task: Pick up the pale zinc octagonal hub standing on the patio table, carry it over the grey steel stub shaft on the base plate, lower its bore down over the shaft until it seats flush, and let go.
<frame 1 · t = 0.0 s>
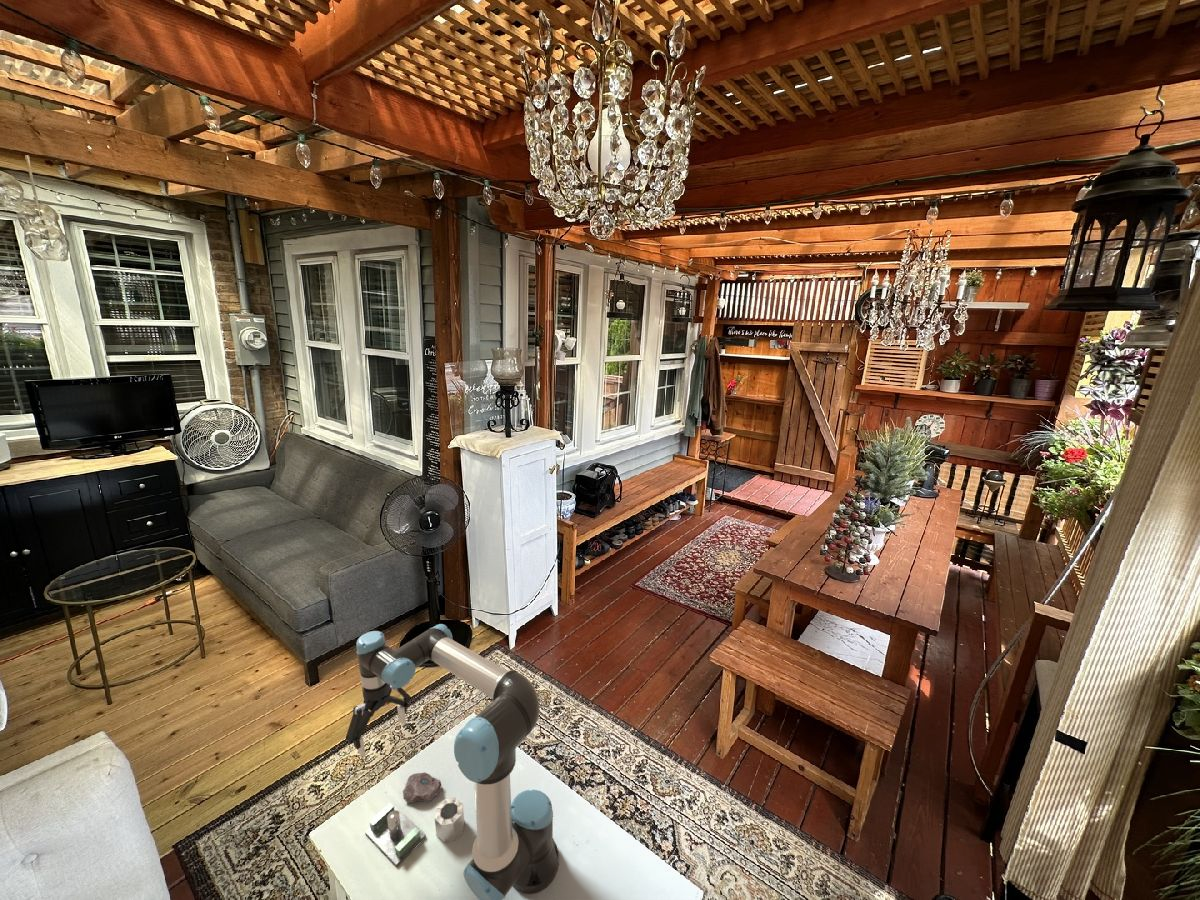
hand: (382, 737, 145), 28 cm above the table, fingers open, 13 cm apart
hub: (450, 827, 147), on the table
rock: (421, 793, 158), on the table
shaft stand: (395, 835, 144), on the table
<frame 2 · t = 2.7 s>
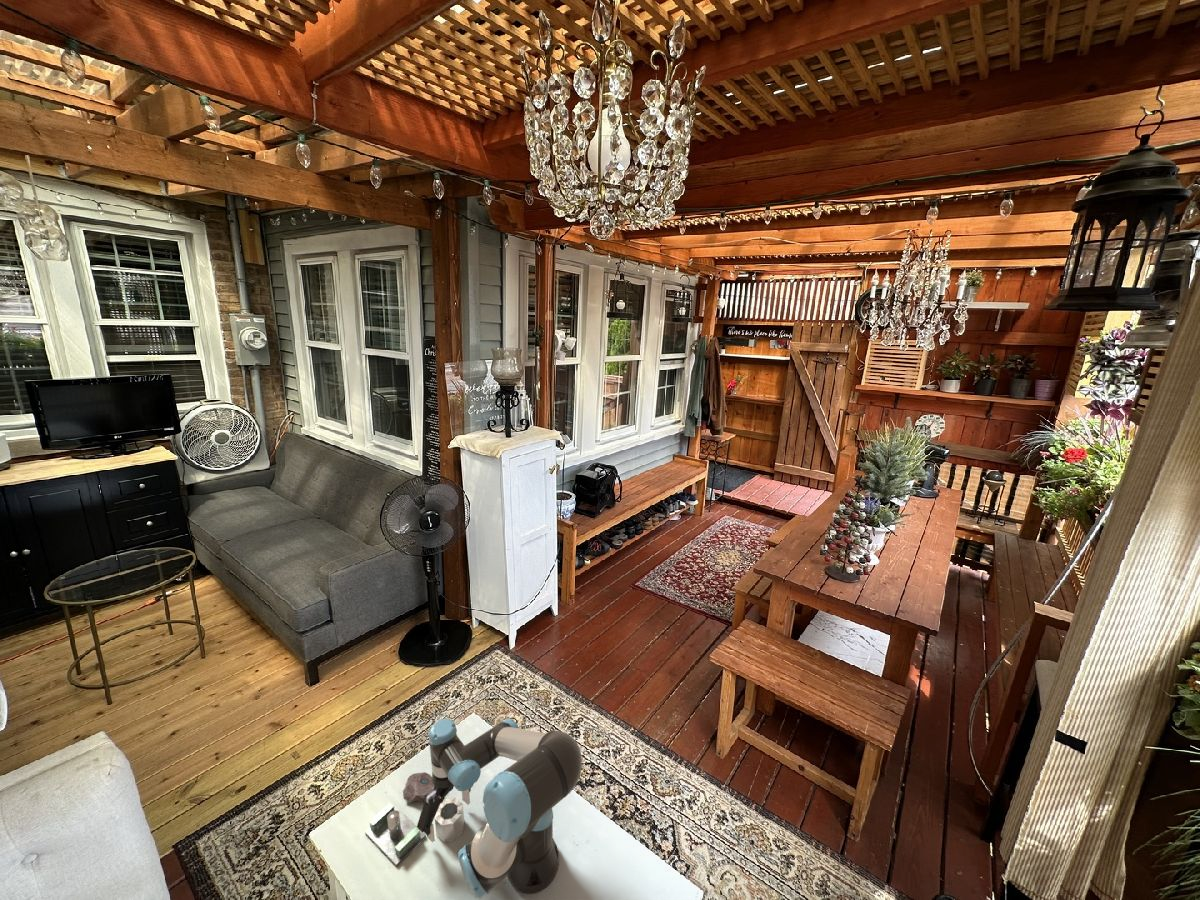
hand: (449, 819, 146), 3 cm above the table, fingers open, 13 cm apart
nothing on the table moved.
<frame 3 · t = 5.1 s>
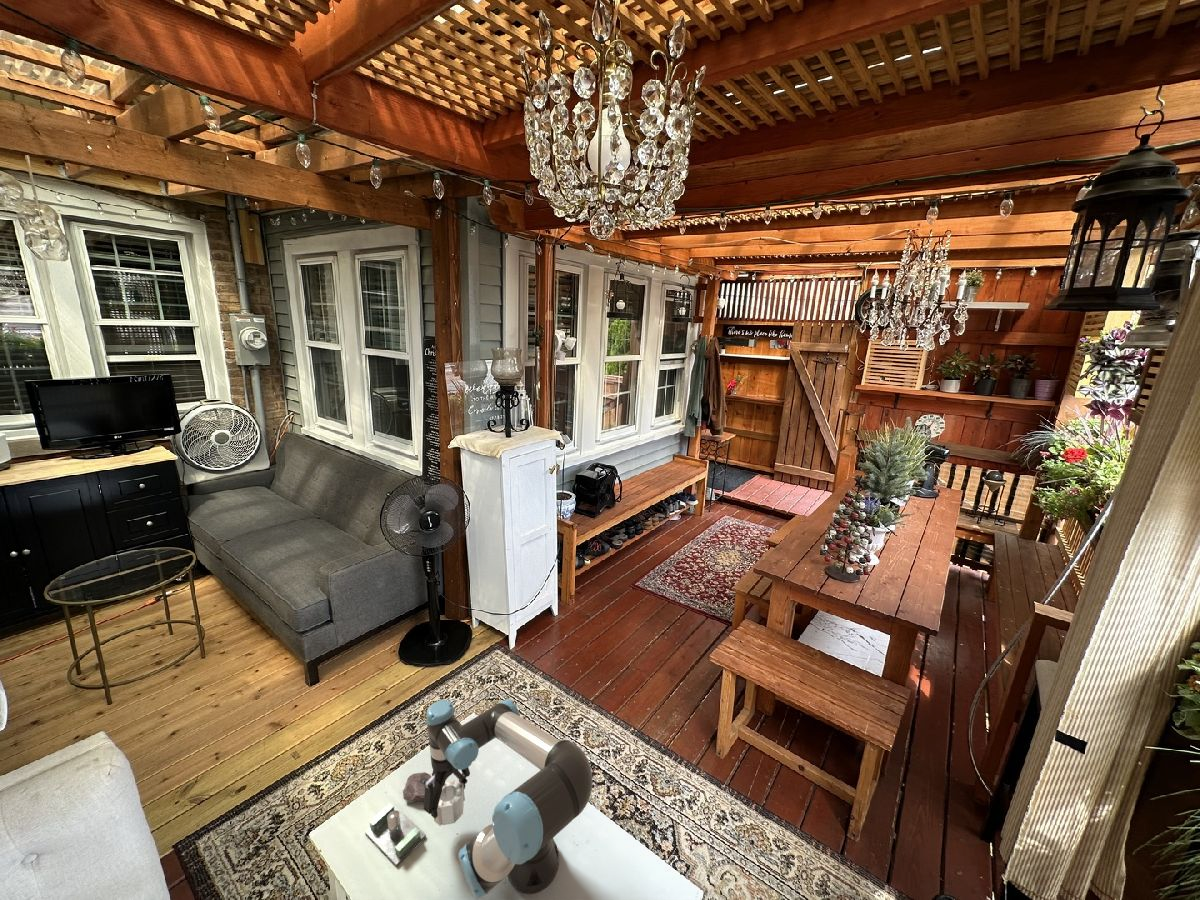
hand: (449, 810, 144), 8 cm above the table, fingers closed on hub, 8 cm apart
hub: (449, 811, 144), point 8 cm above the table, touching gripper
everything else where it was.
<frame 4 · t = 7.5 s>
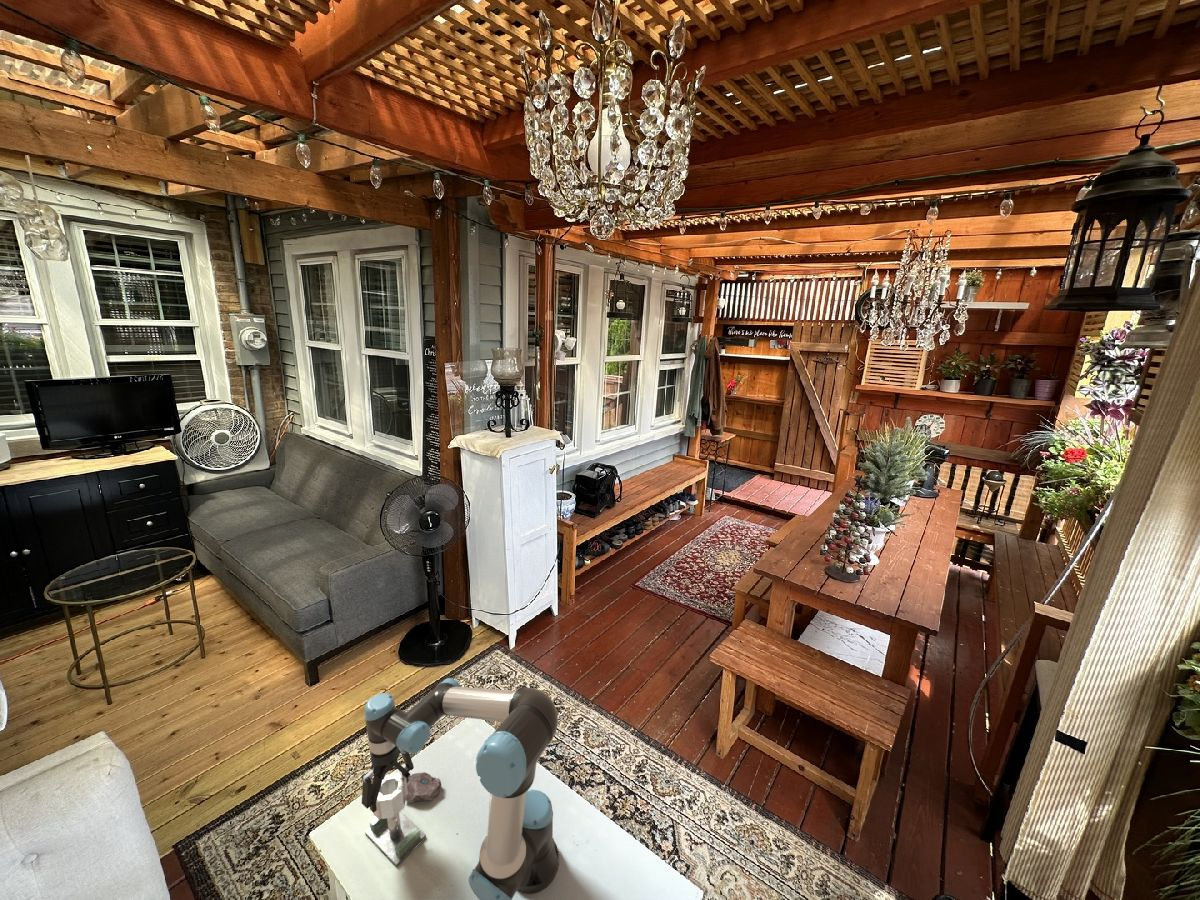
hand: (391, 804, 141), 13 cm above the table, fingers closed on hub, 8 cm apart
hub: (391, 804, 141), point 12 cm above the table, touching gripper
everything else where it was.
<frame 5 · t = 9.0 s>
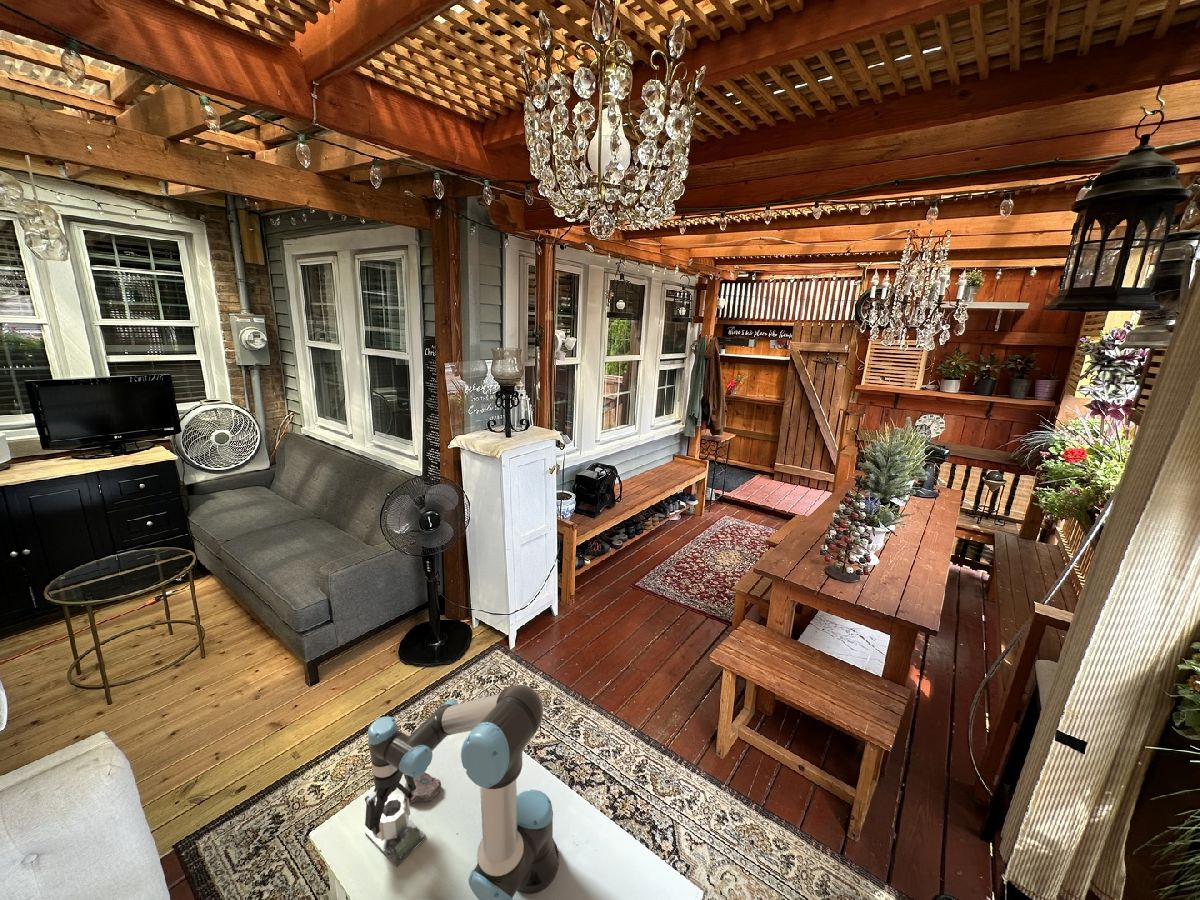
hand: (394, 824, 143), 4 cm above the table, fingers closed on hub, 8 cm apart
hub: (393, 825, 143), point 4 cm above the table, touching gripper
everything else where it was.
when the fingers open (2 cm above the table, at t = 10.3 s): hub stays where it is, resting on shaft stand.
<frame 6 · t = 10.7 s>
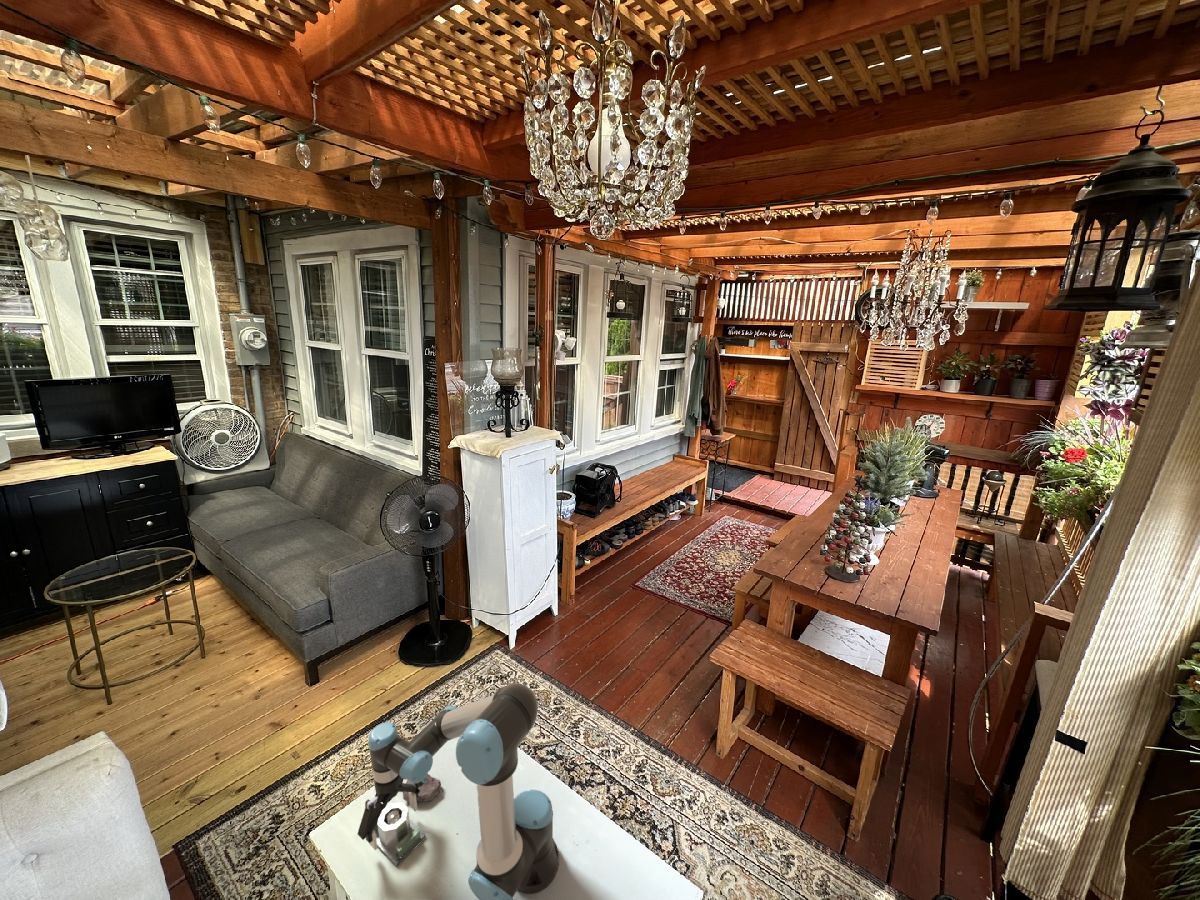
hand: (394, 826, 143), 4 cm above the table, fingers open, 13 cm apart
hub: (395, 833, 144), point 1 cm above the table, touching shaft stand
everything else where it was.
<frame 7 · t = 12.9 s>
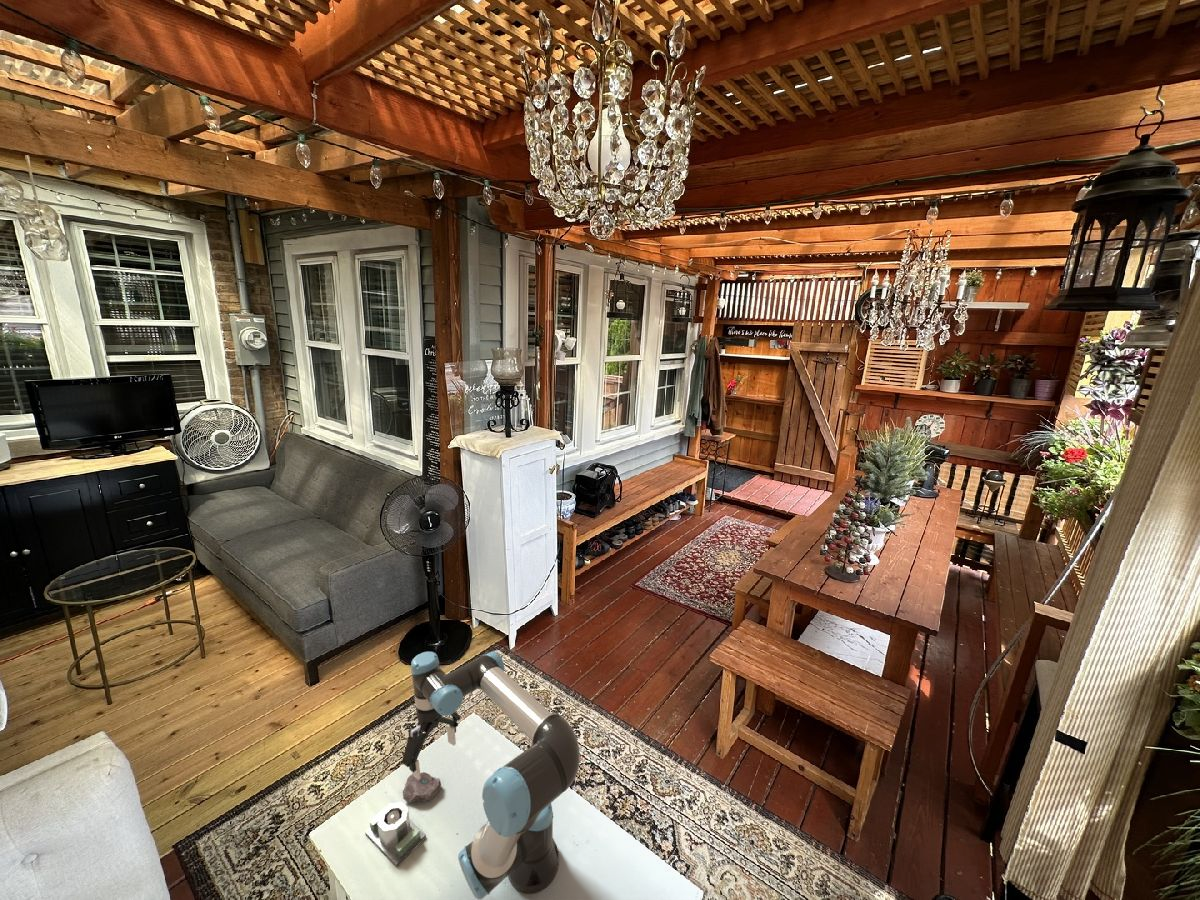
hand: (435, 759, 145), 23 cm above the table, fingers open, 13 cm apart
nothing on the table moved.
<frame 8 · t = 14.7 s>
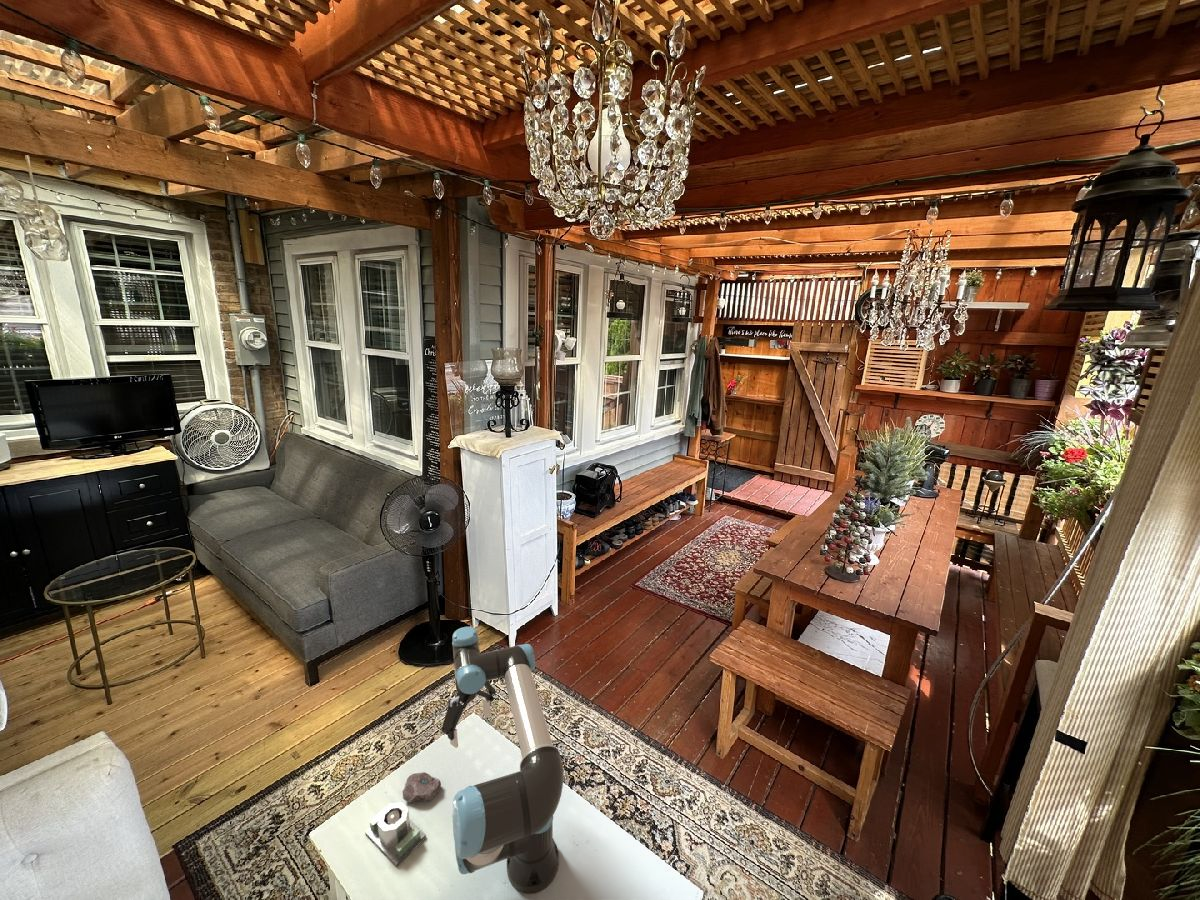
hand: (471, 730, 150), 27 cm above the table, fingers open, 13 cm apart
nothing on the table moved.
at the end: hub 0.0 cm off-centre on the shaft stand, point 1.0 cm above the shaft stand's base; hub tilted 0°; the gripper is holding nothing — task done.
